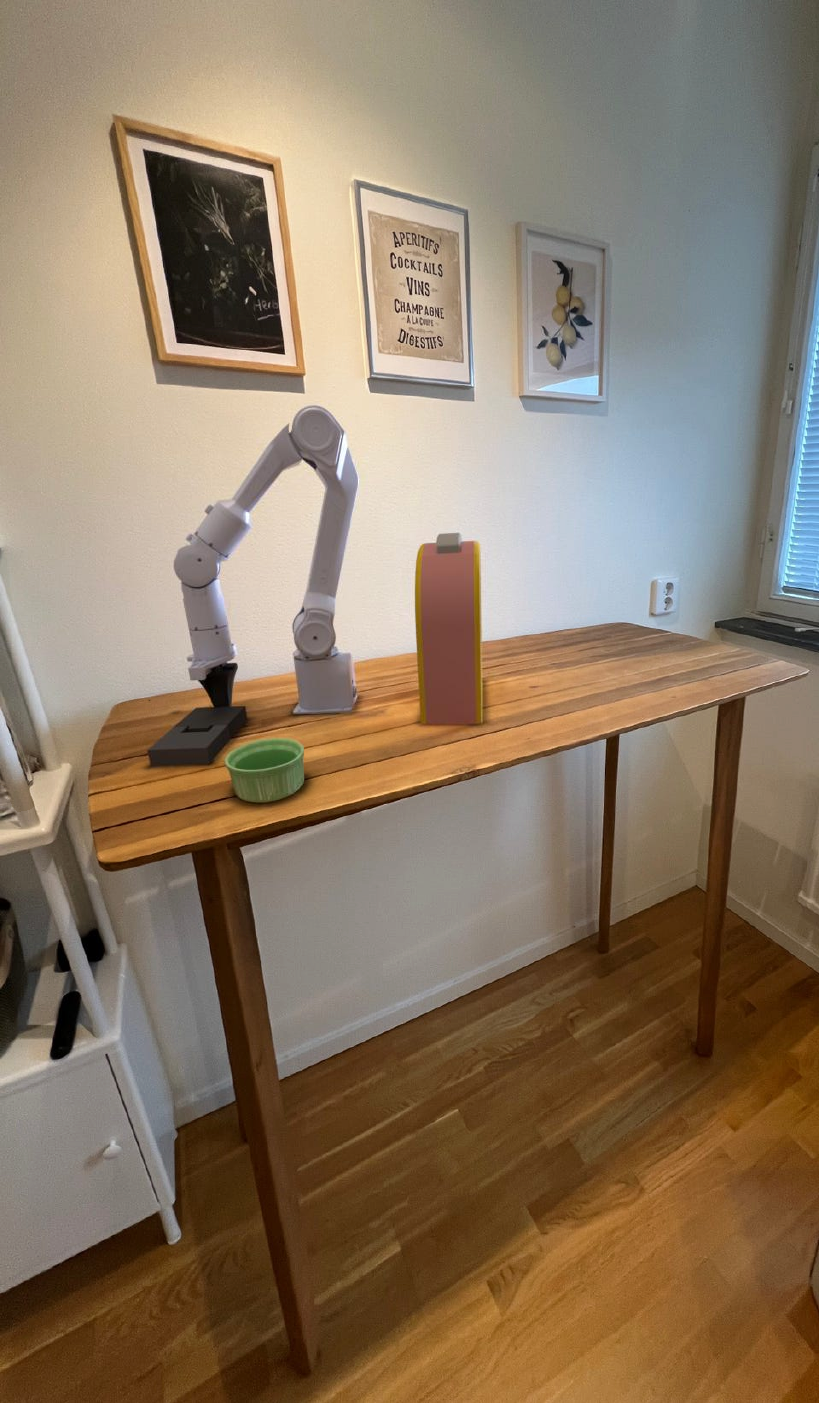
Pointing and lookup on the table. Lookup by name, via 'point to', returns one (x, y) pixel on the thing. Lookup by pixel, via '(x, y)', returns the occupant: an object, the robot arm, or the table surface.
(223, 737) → the charcoal pad
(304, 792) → the table surface
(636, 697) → the table surface
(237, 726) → the black pad
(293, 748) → the ramekin
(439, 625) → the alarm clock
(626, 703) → the table surface
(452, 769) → the table surface
